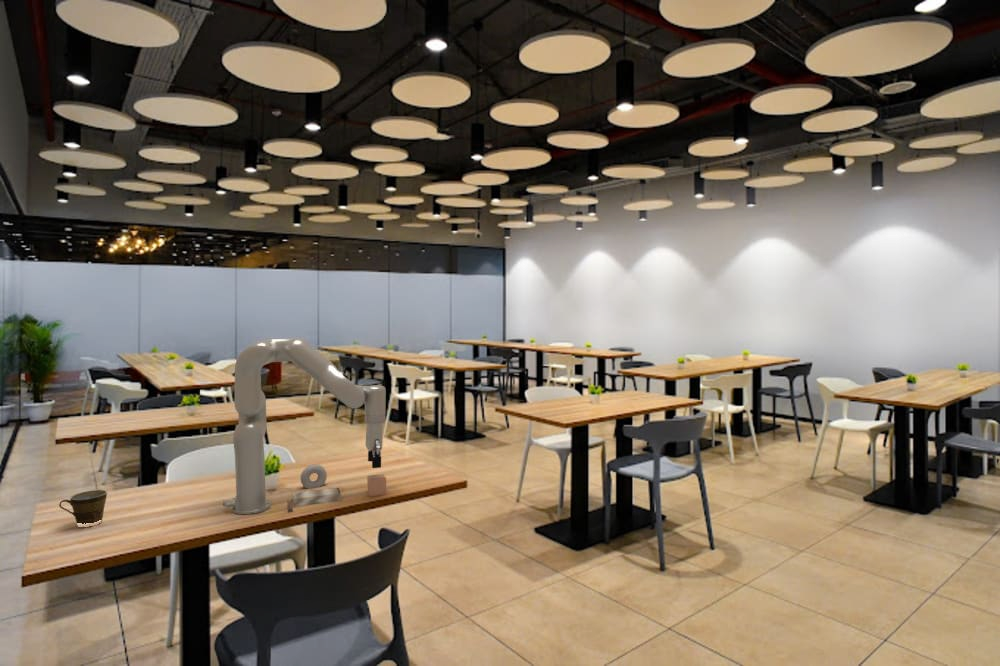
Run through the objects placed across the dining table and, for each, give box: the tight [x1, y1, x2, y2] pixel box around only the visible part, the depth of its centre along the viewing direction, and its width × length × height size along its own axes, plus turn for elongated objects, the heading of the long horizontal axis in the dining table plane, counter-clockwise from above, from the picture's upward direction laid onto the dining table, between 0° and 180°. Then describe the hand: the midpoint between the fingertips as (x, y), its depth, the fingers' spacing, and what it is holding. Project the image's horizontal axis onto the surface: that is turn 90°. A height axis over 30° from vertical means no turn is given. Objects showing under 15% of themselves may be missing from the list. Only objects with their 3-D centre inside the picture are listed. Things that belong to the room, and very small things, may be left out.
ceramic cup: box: [58, 489, 108, 524], centre depth 192 cm, size 13×10×10 cm
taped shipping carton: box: [366, 473, 387, 497], centre depth 218 cm, size 6×6×6 cm
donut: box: [300, 464, 328, 489], centre depth 227 cm, size 10×4×10 cm, turn 121°
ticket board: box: [286, 487, 342, 513], centre depth 213 cm, size 36×10×4 cm, turn 111°
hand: (374, 464), depth 217 cm, fingers open, 9 cm apart
